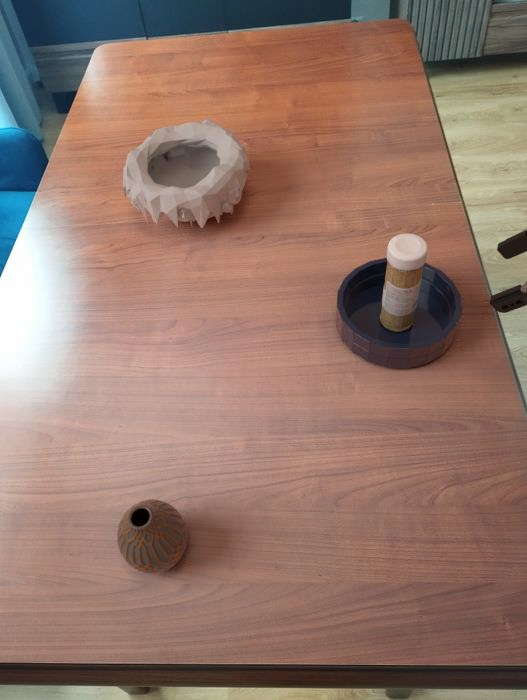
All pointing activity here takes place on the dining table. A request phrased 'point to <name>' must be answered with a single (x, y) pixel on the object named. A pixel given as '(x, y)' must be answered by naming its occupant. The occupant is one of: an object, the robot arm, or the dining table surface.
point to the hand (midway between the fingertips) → (497, 278)
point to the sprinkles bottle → (402, 281)
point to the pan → (388, 346)
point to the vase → (152, 536)
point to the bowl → (186, 173)
